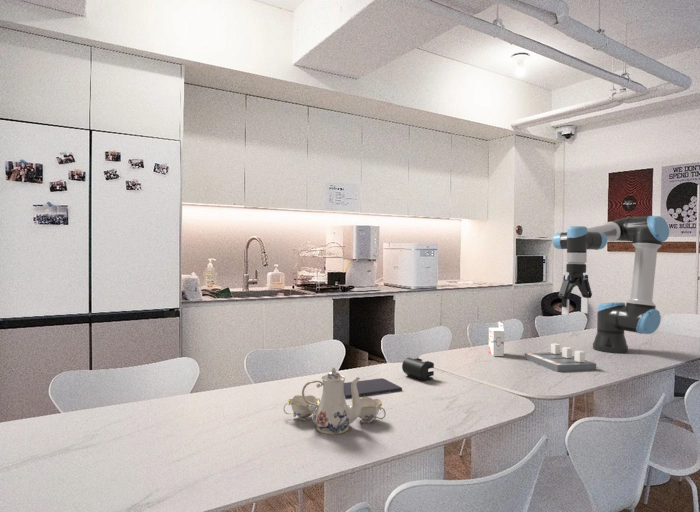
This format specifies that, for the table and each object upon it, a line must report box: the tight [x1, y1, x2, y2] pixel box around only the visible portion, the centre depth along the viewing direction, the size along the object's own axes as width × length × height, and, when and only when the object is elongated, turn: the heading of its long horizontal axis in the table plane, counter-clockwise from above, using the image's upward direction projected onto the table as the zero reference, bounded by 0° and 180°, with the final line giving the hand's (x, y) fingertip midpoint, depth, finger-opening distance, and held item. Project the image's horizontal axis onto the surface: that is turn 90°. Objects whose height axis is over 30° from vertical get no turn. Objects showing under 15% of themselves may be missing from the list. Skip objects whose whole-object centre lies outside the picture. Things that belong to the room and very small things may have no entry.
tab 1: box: [550, 342, 561, 354], centre depth 209 cm, size 2×3×4 cm
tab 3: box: [574, 350, 586, 362], centre depth 195 cm, size 2×3×4 cm
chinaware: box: [283, 366, 387, 435], centre depth 129 cm, size 28×17×17 cm, turn 92°
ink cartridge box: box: [488, 321, 505, 357], centre depth 217 cm, size 9×5×15 cm, turn 179°
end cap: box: [401, 357, 435, 382], centre depth 176 cm, size 10×7×7 cm
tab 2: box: [561, 346, 573, 358], centre depth 202 cm, size 2×3×4 cm
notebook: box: [344, 378, 403, 400], centre depth 161 cm, size 13×2×21 cm
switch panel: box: [523, 351, 597, 373], centre depth 201 cm, size 18×22×3 cm
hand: (575, 314), depth 200 cm, fingers open, 13 cm apart
